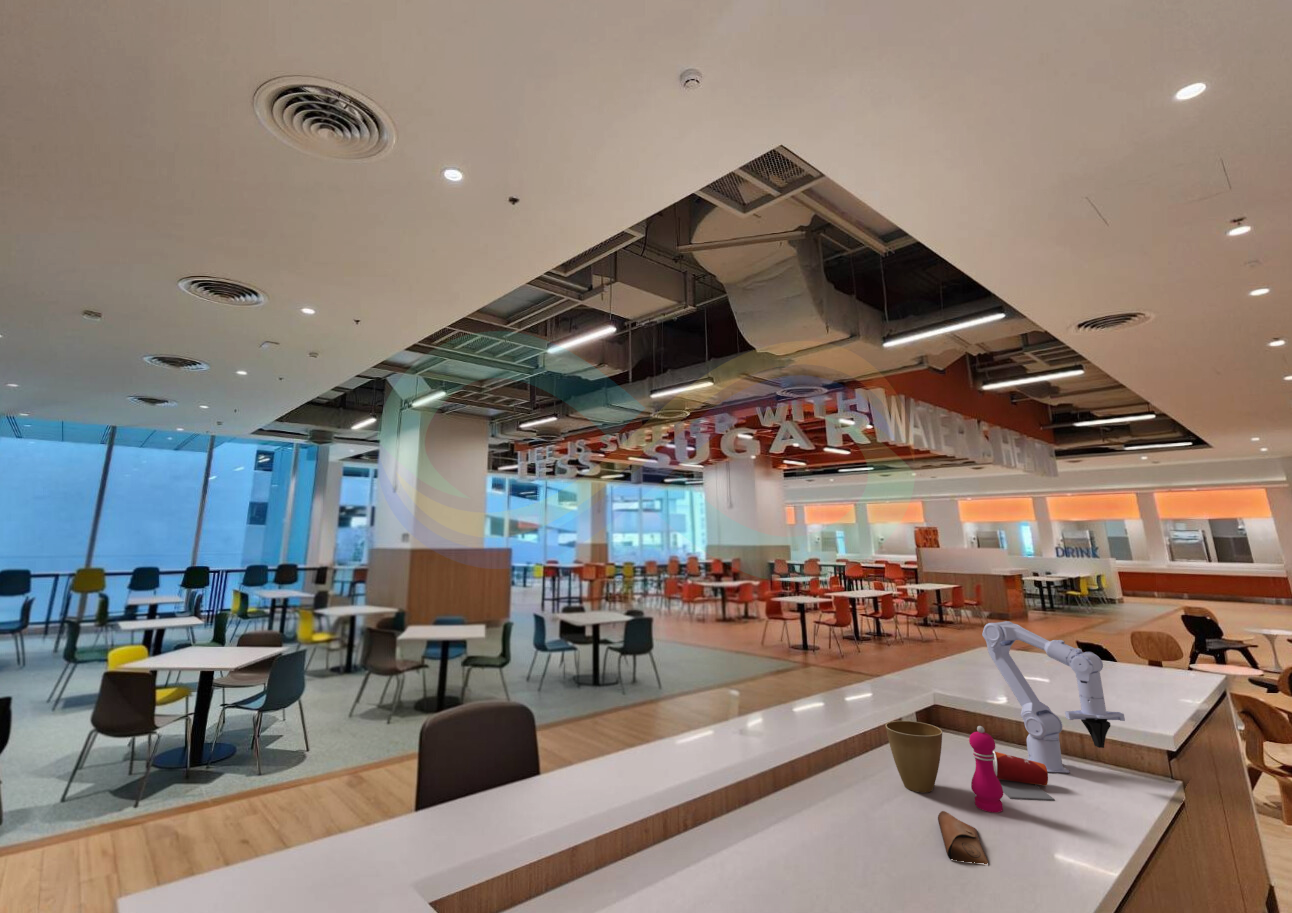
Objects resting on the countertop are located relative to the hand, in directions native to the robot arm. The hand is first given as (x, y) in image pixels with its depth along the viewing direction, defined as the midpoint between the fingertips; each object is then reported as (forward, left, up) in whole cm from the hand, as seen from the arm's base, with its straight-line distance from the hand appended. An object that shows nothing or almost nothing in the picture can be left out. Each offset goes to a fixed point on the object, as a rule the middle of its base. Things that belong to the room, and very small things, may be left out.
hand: (1099, 746), depth 159 cm
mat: (+4, -25, -10) cm, 27 cm away
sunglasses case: (+38, -53, -11) cm, 66 cm away
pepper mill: (+18, -38, -11) cm, 43 cm away
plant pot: (+7, -52, -11) cm, 54 cm away
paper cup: (+2, -16, -7) cm, 18 cm away
